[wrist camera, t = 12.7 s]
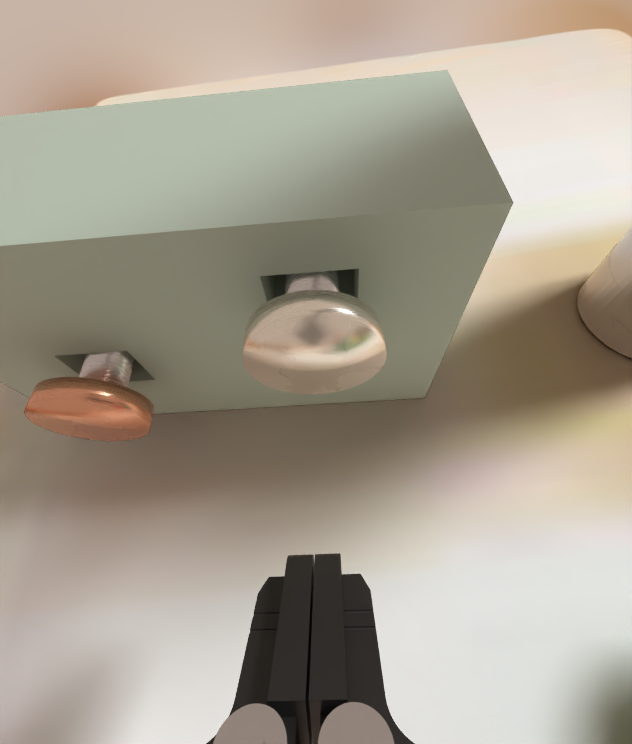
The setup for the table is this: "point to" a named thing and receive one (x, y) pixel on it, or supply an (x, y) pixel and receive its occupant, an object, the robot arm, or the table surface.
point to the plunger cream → (313, 338)
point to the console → (240, 231)
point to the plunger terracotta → (93, 401)
